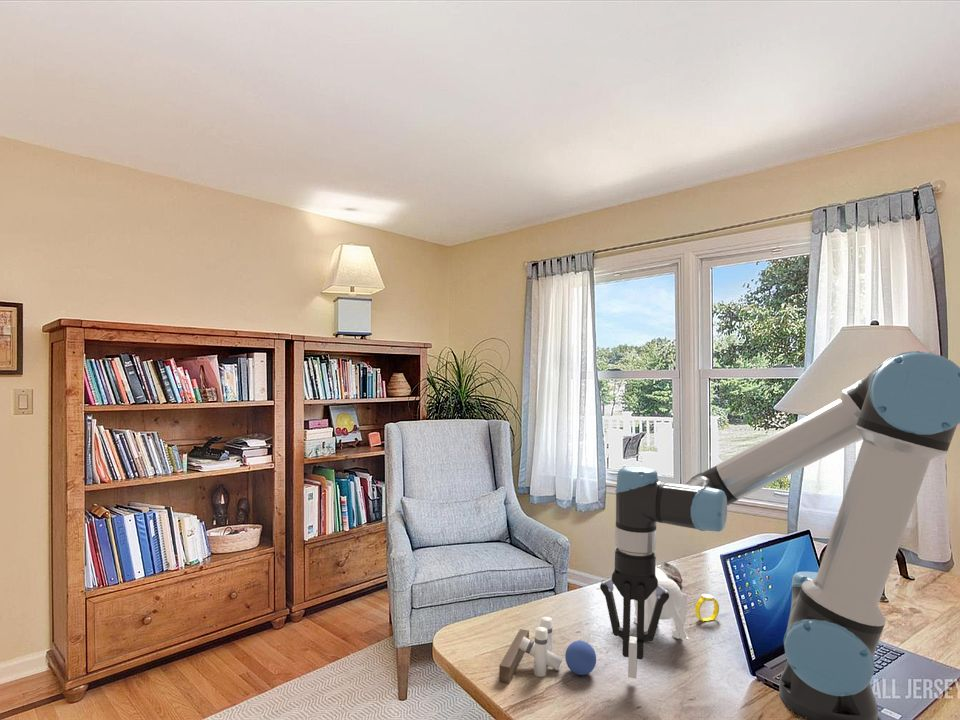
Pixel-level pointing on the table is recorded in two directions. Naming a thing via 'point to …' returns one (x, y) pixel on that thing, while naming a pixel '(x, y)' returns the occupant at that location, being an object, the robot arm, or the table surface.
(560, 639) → the table surface
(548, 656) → the front pin
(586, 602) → the table surface
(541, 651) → the pin
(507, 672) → the back wall
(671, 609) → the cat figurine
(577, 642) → the ball
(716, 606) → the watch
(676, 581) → the mineral rock
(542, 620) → the pin
